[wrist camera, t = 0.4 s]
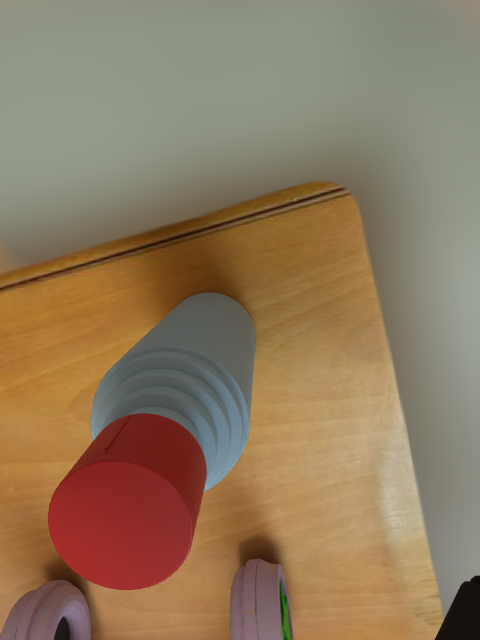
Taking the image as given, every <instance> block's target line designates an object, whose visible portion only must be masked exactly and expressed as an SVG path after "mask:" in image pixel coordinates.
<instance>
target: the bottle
mask: <svg viewBox="0 0 480 640" xmlns="http://www.w3.org/2000/svg"><path fill="white" fill-rule="evenodd" d="M255 343H256V333H255V327H254V324H253V321H252V319H251V317H250V315H249V314H248V312H247V311H246V309H245V308H244V307H243V306H242V305H241V304H240V303H238V302H237V301H236V300H234V299H232V298H231V297H229V296H226V295H223V294H219V293H213V292H205V293H199V294H196V295H193V296H190V297H188V298H186V299H185V300H183V301H182V302H181V303H180V304H178V305H177V306H176V307H175V308H174V309H173V310H172V311H171V312H170V313H169V314H168V315H167V316H166V317H165V318H163V319H162V320H161V321H160V322H159V323H158V324H157V325H156V326H155V327H154V328H153V329H152V330H151V331H150V332H149V333H148V334H146V335H145V336H144V337H143V338H142V339H141V340H140V341H139V342H138V343H137V344H136V345H135V346H134V347H133V348H132V349H131V350H129V351H128V352H127V353H126V354H125V355H124V356H123V357H122V358H121V359H120V360H119V361H118V362H117V363H116V364H115V365H114V366H113V367H112V368H111V369H110V370H109V371H108V372H107V373H106V375H105V376H104V378H103V379H102V381H101V383H100V385H99V387H98V389H97V392H96V395H95V398H94V403H93V408H92V413H91V434H92V439H93V441H94V440H95V438H96V437H97V436H98V435H99V433H100V432H101V431H102V430H103V429H104V428H105V427H106V426H108V425H109V424H110V423H112V422H113V421H115V420H117V419H119V418H121V417H124V416H128V415H129V414H139V413H149V414H156V415H160V416H164V417H167V418H169V419H171V420H173V421H175V422H177V423H179V424H180V425H182V426H183V427H184V428H186V429H187V430H188V431H189V432H190V433H191V434H192V435H193V436H194V438H195V439H196V440H197V442H198V443H199V445H200V447H201V449H202V451H203V454H204V456H205V460H206V465H207V477H206V483H205V487H204V491H206V490H208V489H210V488H212V487H213V486H214V485H216V484H217V483H219V482H220V481H221V480H222V479H223V478H224V477H225V476H226V475H227V474H228V472H229V471H230V470H231V469H232V468H233V466H234V465H235V464H236V463H237V461H238V460H239V458H240V456H241V455H242V453H243V450H244V448H245V445H246V442H247V438H248V433H249V422H250V409H251V396H252V383H253V370H254V357H255Z"/></svg>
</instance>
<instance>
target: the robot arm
mask: <svg viewBox="0 0 480 640" xmlns="http://www.w3.org/2000/svg"><path fill="white" fill-rule="evenodd" d="M435 640H480V576H475V577H473V578H472V579H471V580H470V582H469V581H465V582H464V583H463V584H462V585H461V586H460V588H459V590H458V592H457V594H456V596H455V599H454V601H453V603H452V605H451V607H450V609H449V611H448V613H447V615H446V617H445V619H444V621H443V624H442V626H441V628H440V630H439V632H438V634H437V636H436V638H435Z"/></svg>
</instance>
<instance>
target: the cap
mask: <svg viewBox="0 0 480 640" xmlns="http://www.w3.org/2000/svg"><path fill="white" fill-rule="evenodd" d="M206 477H207V465H206V460H205V456H204V454H203V451H202V449H201V447H200V445H199V443H198V442H197V440H196V439H195V438H194V436H193V435H192V434H191V433H190V432H189V431H188V430H187V429H186V428H184V427H183V426H182V425H180V424H179V423H177V422H175V421H173V420H171V419H169V418H167V417H164V416H160V415H156V414H149V413H139V414H129V415H128V416H124V417H121V418H119V419H117V420H115V421H113V422H112V423H110V424H109V425H108V426H106V427H105V428H104V429H103V430H102V431H101V432H100V433H99V435H98V436H97V437H96V438H95V440H94V441H93V442H92V443H91V445H90V446H89V447H88V449H87V450H86V451H85V452H84V454H83V455H82V456H81V457H80V459H79V460H78V461H77V463H76V464H75V465H74V466H73V468H72V469H71V470H70V471H69V473H68V474H67V475H66V477H65V478H64V479H63V480H62V482H61V483H60V484H59V486H58V487H57V489H56V490H55V492H54V494H53V496H52V499H51V502H50V505H49V512H48V526H49V532H50V536H51V539H52V542H53V544H54V546H55V548H56V550H57V552H58V553H59V555H60V556H61V558H62V559H63V560H64V562H65V563H66V564H67V565H68V566H69V567H70V568H71V569H72V570H74V571H75V572H76V573H77V574H79V575H80V576H82V577H83V578H85V579H87V580H89V581H91V582H93V583H95V584H98V585H100V586H103V587H107V588H111V589H119V590H135V589H142V588H147V587H150V586H153V585H156V584H158V583H160V582H162V581H164V580H165V579H167V578H168V577H170V576H171V575H172V574H173V573H174V572H175V571H177V570H178V568H179V567H180V566H181V565H182V564H183V562H184V561H185V559H186V557H187V556H188V553H189V551H190V548H191V544H192V540H193V536H194V531H195V527H196V523H197V518H198V514H199V509H200V505H201V501H202V496H203V492H204V487H205V483H206Z"/></svg>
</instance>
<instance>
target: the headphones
mask: <svg viewBox="0 0 480 640" xmlns="http://www.w3.org/2000/svg"><path fill="white" fill-rule="evenodd" d="M230 633H231V640H294V637H293V627H292V619H291V611H290V604H289V597H288V591H287V586H286V581H285V576H284V572H283V569H282V566H281V565H280V564H277V565H276V564H271V563H268V562H266V561H264V560H262V559H251V560H248V561H247V564H246V566H242V567H240V568H239V569H238V570H237V572H236V574H235V576H234V579H233V583H232V588H231V596H230ZM90 638H91V621H90V613H89V608H88V604H87V602H86V599H85V597H84V595H83V594H82V593H81V591H80V590H79V589H78V588H77V587H75V586H73V585H72V584H71V583H70V582H69V581H66V580H55V581H49V582H46V583H45V584H43V585H42V586H40V587H39V588H38V589H36V590H32V591H29V592H28V593H26V594H25V595H23V596H22V597H21V598H20V599H19V600H18V601H17V603H16V604H15V605H14V607H13V609H12V610H11V612H10V614H9V616H8V618H7V620H6V622H5V625H4V627H3V630H2V633H1V636H0V640H90Z"/></svg>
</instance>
